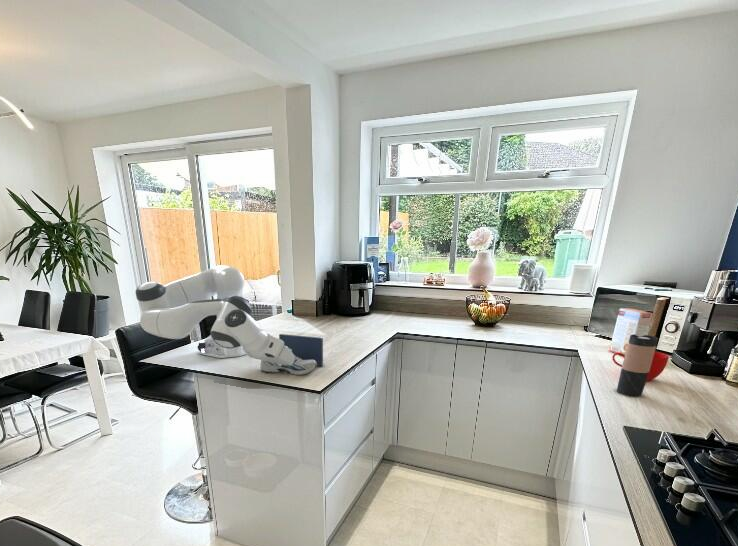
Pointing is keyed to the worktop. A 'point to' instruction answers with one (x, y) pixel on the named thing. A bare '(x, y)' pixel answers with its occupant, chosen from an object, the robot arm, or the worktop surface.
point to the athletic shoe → (296, 368)
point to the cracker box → (629, 328)
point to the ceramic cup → (652, 364)
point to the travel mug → (636, 365)
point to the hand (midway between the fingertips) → (278, 364)
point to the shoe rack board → (305, 347)
